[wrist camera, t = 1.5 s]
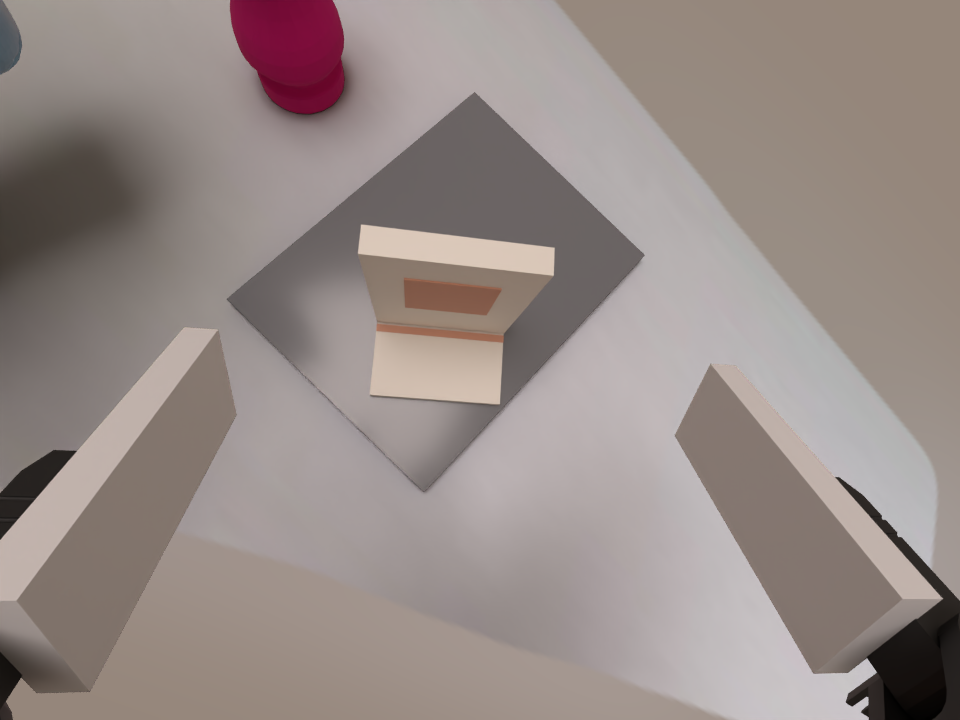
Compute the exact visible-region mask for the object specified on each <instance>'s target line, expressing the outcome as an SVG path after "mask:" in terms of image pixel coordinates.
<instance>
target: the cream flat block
mask: <svg viewBox="0 0 960 720" xmlns="http://www.w3.org/2000/svg"><path fill="white" fill-rule="evenodd" d="M554 253H555V248H553V247H544V246H536V245H528V244H519V243H511V242H503V241H494V240H486V239H478V238H469V237H461V236H453V235H445V234H436V233H428V232H420V231H411V230H403V229H395V228H386V227H378V226H370V225H361V230H360V239H359V248H358V256H359V260H360V263H361V267H362V270H363V274H364V277H365V281H366V284H367V288H368V291H369V295H370V298H371V302H372V305H373V309H374V312H375V316H376V320H377V321H379V322H390V323H400V324H411V325H421V326H432V327H443V328H453V329H464V330H475V331H485V332H496V333H505V332H506V331H507V329H508V328H509V327H510V326H511V325H512V324H513V322H514V321H515V320H516V319H517V318H518V317H519V315H520V314H521V313H522V312H523V311H524V310H525V309H526V307H527V306H528V305H529V304H530V303H531V302H532V300H533V299H534V298H535V297H536V296H537V295H538V293H539V292H540V291H541V290H542V289H543V288H544V286H545V285H546V284H547V283H548V282H549V281H550V279H551V278H552V277H553V276H554Z"/></svg>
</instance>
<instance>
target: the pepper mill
mask: <svg viewBox="0 0 960 720" xmlns="http://www.w3.org/2000/svg"><path fill="white" fill-rule="evenodd" d="M230 13H231V22H232V27H233V31H234V34H235V37H236V40H237V43H238V46H239V48H240V50H241V52H242V54H243V56H244V57H245V59H246V60H247V61H248V62H249V64H250V65H251V66H252V67H253V68H254V69H256V70H257V72H258V75H259V77H260V80H261V82H262V85H263V87H264V89H265V91H266V93H267V94H268V96H269V97H270V98H271V99H272V101H274V102H275V103H276V104H277V105H279V106H280V107H282V108H284V109H286V110H289V111H292V112H295V113H305V114H312V113H316V112H320V111H323V110H325V109H327V108H328V107H330V106H332V105H333V104H334V103H335V102H336V101H337V100H338V98H339V97H340V95H341V93H342V91H343V88H344V72H343V67H342V62H341V55H342V52H343V48H344V35H343V29H342V25H341V21H340V18H339V14H338V11H337V8H336V6H335V4H334V2H333V0H230Z"/></svg>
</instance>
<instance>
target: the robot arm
mask: <svg viewBox="0 0 960 720" xmlns="http://www.w3.org/2000/svg"><path fill="white" fill-rule="evenodd" d="M21 48H22V41H21V35H20V32H19V29H18V27H17V25H16V23H15V21H14V19H13V17H12V15H11V14H10V12H9V10H8V9H7V7H6V5H5V4H4V2H3V0H0V74H2V73H5V72H7V71H9V70H10V69H11V68H12V67H13V66H14V65H15V64H16V63H17V62H18V60H19V57H20V53H21ZM236 415H237V414H236V410H235V405H234V400H233V396H232V391H231V387H230V382H229V377H228V373H227V368H226V364H225V359H224V354H223V350H222V345H221V341H220V336H219V331H218V330H217V329H203V328H189V327H184V328H183V329H182V330H181V332H180V333H179V334H178V335H177V336H176V337H175V339H174V340H173V341H172V342H171V343H170V344H169V345H168V347H167V348H166V349H165V350H164V351H163V352H162V354H161V355H160V356H159V357H158V358H157V359H156V361H155V362H154V363H153V364H152V365H151V366H150V367H149V369H148V370H147V371H146V372H145V373H144V374H143V376H142V377H141V378H140V379H139V380H138V381H137V382H136V384H135V385H134V386H133V387H132V388H131V389H130V391H129V392H128V393H127V394H126V395H125V396H124V398H123V399H122V400H121V401H120V402H119V403H118V404H117V406H116V407H115V408H114V409H113V410H112V411H111V413H110V414H109V415H108V416H107V417H106V418H105V419H104V421H103V422H102V423H101V424H100V425H99V426H98V428H97V429H96V430H95V431H94V432H93V433H92V435H91V436H90V437H89V438H88V439H87V440H86V441H85V443H84V444H83V445H82V446H81V447H80V448H79V450H78V451H64V450H53V451H52V452H50V453H49V454H47V455H45V456H44V457H42V458H41V459H39V460H38V461H36V462H34V463H33V464H31V465H30V466H28V467H27V468H25V469H24V470H22V471H21V472H20V473H19V474H18V475H17V476H16V477H15V478H14V479H13V480H12V481H11V482H10V483H9V484H8V485H7V487H6V488H5V489H4V490H3V491H2V492H1V493H0V720H13V719H12V712H11V710H10V708H9V707H8V705H7V703H6V700H7V698H8V696H9V695H10V694H11V692H12V691H13V689H14V688H15V686H16V685H17V683H18V681H19V680H20V678H22V679H23V680H24V681H25V682H26V683H27V684H28V685H29V686H30V687H31V688H32V689H33V690H34V691H35V692H36V693H59V692H60V693H62V692H63V693H64V692H90V691H91V689H92V687H93V685H94V683H95V681H96V679H97V677H98V676H99V673H100V672H101V670H102V668H103V666H104V664H105V662H106V660H107V659H108V657H109V655H110V653H111V651H112V649H113V647H114V645H115V643H116V642H117V640H118V637H119V636H120V634H121V632H122V630H123V628H124V626H125V624H126V623H127V621H128V619H129V617H130V615H131V613H132V611H133V609H134V608H135V606H136V604H137V601H138V600H139V598H140V596H141V594H142V592H143V591H144V589H145V587H146V585H147V583H148V581H149V579H150V577H151V576H152V573H153V572H154V570H155V568H156V566H157V564H158V562H159V560H160V559H161V556H162V555H163V553H164V551H165V549H166V547H167V545H168V543H169V541H170V539H171V538H172V536H173V534H174V532H175V530H176V528H177V526H178V525H179V523H180V521H181V519H182V517H183V515H184V513H185V511H186V509H187V508H188V506H189V504H190V502H191V500H192V498H193V496H194V494H195V492H196V491H197V489H198V487H199V485H200V483H201V481H202V479H203V477H204V476H205V474H206V472H207V470H208V468H209V466H210V464H211V462H212V460H213V459H214V457H215V455H216V453H217V451H218V449H219V447H220V445H221V443H222V442H223V440H224V438H225V436H226V434H227V432H228V430H229V428H230V426H231V425H232V423H233V421H234V419H235V417H236ZM675 437H676V439H677V440H678V442H679V444H680V446H681V447H682V449H683V451H684V452H685V454H686V456H687V458H688V459H689V461H690V463H691V464H692V466H693V468H694V470H695V471H696V473H697V475H698V476H699V478H700V480H701V482H702V483H703V485H704V487H705V488H706V490H707V492H708V494H709V495H710V497H711V499H712V500H713V502H714V504H715V506H716V507H717V509H718V511H719V512H720V514H721V516H722V518H723V519H724V521H725V523H726V524H727V526H728V528H729V530H730V531H731V533H732V535H733V536H734V538H735V540H736V542H737V543H738V545H739V547H740V548H741V550H742V552H743V554H744V555H745V557H746V559H747V560H748V562H749V564H750V566H751V567H752V569H753V571H754V572H755V574H756V576H757V578H758V579H759V581H760V583H761V584H762V586H763V588H764V590H765V591H766V593H767V595H768V596H769V598H770V600H771V602H772V603H773V605H774V607H775V608H776V610H777V612H778V614H779V615H780V617H781V619H782V620H783V622H784V624H785V626H786V627H787V629H788V631H789V632H790V634H791V636H792V638H793V639H794V641H795V643H796V644H797V646H798V648H799V650H800V651H801V653H802V655H803V656H804V658H805V660H806V662H807V663H808V665H809V667H810V668H811V670H812V672H813V674H818V673H848V672H850V671H851V670H852V669H853V668H855V667H856V666H857V665H859V664H860V663H861V662H863V661H864V660H865V659H866V658H868V660H869V661H870V663H871V664H872V666H873V667H874V669H875V670H876V672H877V673H876V674H875V675H873V676H872V677H871V678H869V679H868V680H866V681H865V682H864V683H862V684H861V685H860V686H858V687H857V688H855V689H854V690H853V691H851V692H850V693H849V694H848V697H847V700H846V703H847V704H849V705H850V706H854V705H855V704H857V703H858V702H859V701H861V700H862V699H864V698H865V697H868V699H869V705H868V706H866V707H865V708H864V709H863V710H862V711H861V713H863V714H864V715H866V716H867V717H869V720H960V601H959V600H958V599H957V597H956V596H955V595H954V594H953V593H952V592H951V591H950V590H949V589H948V588H947V586H946V585H945V584H944V583H943V582H942V581H941V580H940V579H939V578H938V577H937V576H936V574H935V573H934V572H933V571H932V570H931V569H930V568H929V567H928V566H927V565H926V564H925V562H924V561H923V560H922V559H921V558H920V557H919V556H918V555H917V554H916V553H915V551H914V550H913V549H912V548H911V547H910V546H909V545H908V544H907V543H906V542H905V541H904V539H903V538H902V537H898V536H897V532H896V531H895V530H894V529H893V527H892V526H891V525H890V524H889V523H888V522H887V521H886V520H882V515H881V514H880V513H879V512H878V511H877V510H876V509H875V508H874V507H873V506H872V504H871V503H870V502H869V501H868V500H867V499H866V498H865V497H864V496H863V495H862V494H861V493H859V492H858V491H857V490H855V489H854V488H853V487H851V486H850V485H849V484H847V483H846V482H845V481H843V480H842V479H841V478H839V477H834V476H833V475H832V473H831V472H830V471H829V470H828V469H827V468H826V467H825V466H824V464H823V463H822V462H821V461H820V460H819V459H818V458H817V457H816V455H815V454H814V453H813V452H812V451H811V450H810V449H809V448H808V446H807V445H806V444H805V443H804V442H803V441H802V440H801V439H800V437H799V436H798V435H797V434H796V433H795V432H794V431H793V430H792V428H791V427H790V426H789V425H788V424H787V423H786V422H785V421H784V419H783V418H782V417H781V416H780V415H779V414H778V413H777V412H776V410H775V409H774V408H773V407H772V406H771V405H770V404H769V403H768V401H767V400H766V399H765V398H764V397H763V396H762V395H761V394H760V392H759V391H758V390H757V389H756V388H755V387H754V386H753V385H752V383H751V382H750V381H749V380H748V379H747V378H746V377H745V376H744V374H743V373H742V372H741V371H740V370H739V369H738V368H737V367H736V366H734V365H720V364H710V366H709V368H708V370H707V372H706V374H705V376H704V378H703V380H702V382H701V384H700V386H699V388H698V390H697V392H696V394H695V396H694V398H693V400H692V402H691V404H690V406H689V408H688V410H687V412H686V414H685V416H684V418H683V420H682V422H681V424H680V426H679V428H678V430H677V432H676V434H675Z"/></svg>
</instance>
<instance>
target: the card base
mask: <svg viewBox="0 0 960 720" xmlns="http://www.w3.org/2000/svg"><path fill="white" fill-rule="evenodd" d="M503 341H504V333H496V332H485V331H475V330H464V329H453V328H443V327H432V326H421V325H411V324H400V323H390V322H379V321H377V328H376V339H375V348H374V358H373V367H372V377H371V387H370V396H380V397H394V398H407V399H421V400H434V401H448V402H461V403H475V404H489V405H499V404H500V393H501V374H502V355H503Z"/></svg>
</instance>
